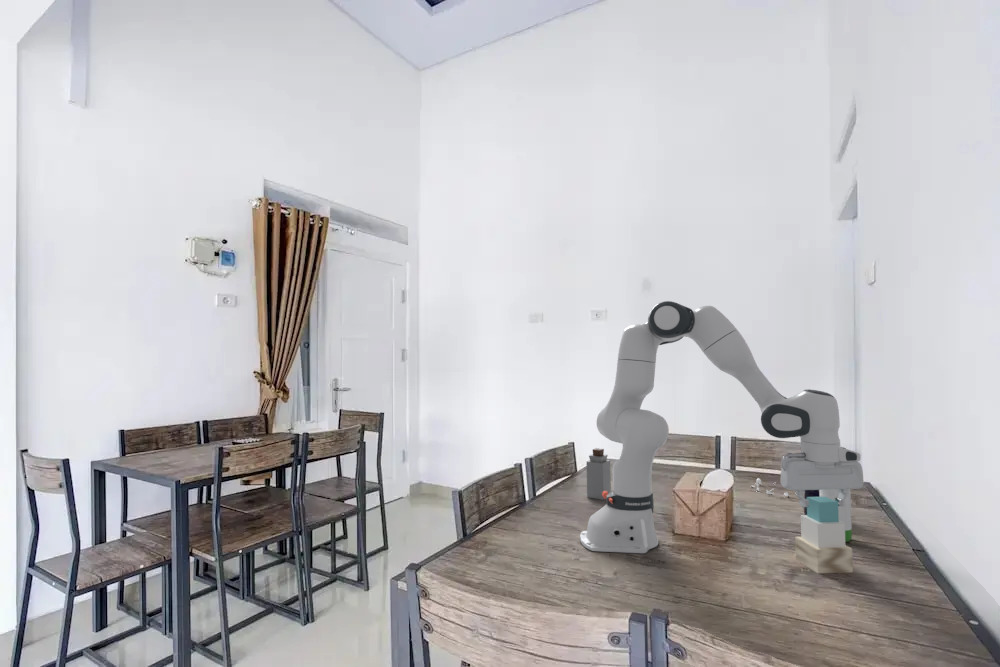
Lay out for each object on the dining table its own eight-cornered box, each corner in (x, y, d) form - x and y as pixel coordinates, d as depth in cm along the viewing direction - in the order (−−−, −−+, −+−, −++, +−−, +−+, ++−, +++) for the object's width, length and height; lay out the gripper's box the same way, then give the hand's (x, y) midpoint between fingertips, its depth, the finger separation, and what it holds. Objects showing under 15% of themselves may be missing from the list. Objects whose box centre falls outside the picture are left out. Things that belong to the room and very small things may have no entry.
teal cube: (819, 522, 132) (818, 502, 132) (807, 516, 137) (806, 496, 137) (838, 521, 132) (838, 502, 132) (825, 515, 137) (825, 496, 137)
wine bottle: (824, 541, 151) (820, 437, 152) (817, 532, 158) (814, 433, 159) (855, 544, 148) (852, 438, 149) (847, 535, 155) (844, 434, 156)
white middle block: (818, 548, 131) (817, 523, 131) (801, 538, 138) (800, 515, 138) (845, 547, 131) (844, 523, 131) (827, 537, 138) (826, 514, 138)
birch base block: (817, 573, 130) (817, 549, 130) (795, 559, 139) (795, 536, 139) (852, 572, 130) (852, 548, 130) (828, 558, 139) (827, 535, 139)
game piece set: (741, 486, 213) (740, 476, 213) (786, 484, 215) (786, 475, 215) (770, 499, 194) (770, 489, 194) (820, 497, 196) (820, 487, 196)
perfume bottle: (594, 493, 204) (594, 447, 205) (610, 495, 200) (610, 448, 201) (587, 497, 199) (586, 449, 199) (603, 499, 195) (602, 451, 195)
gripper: (788, 455, 132) (790, 510, 131) (866, 454, 133) (868, 509, 132) (774, 450, 138) (775, 503, 138) (849, 449, 139) (850, 501, 138)
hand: (822, 506), depth 135 cm, fingers open, 8 cm apart
